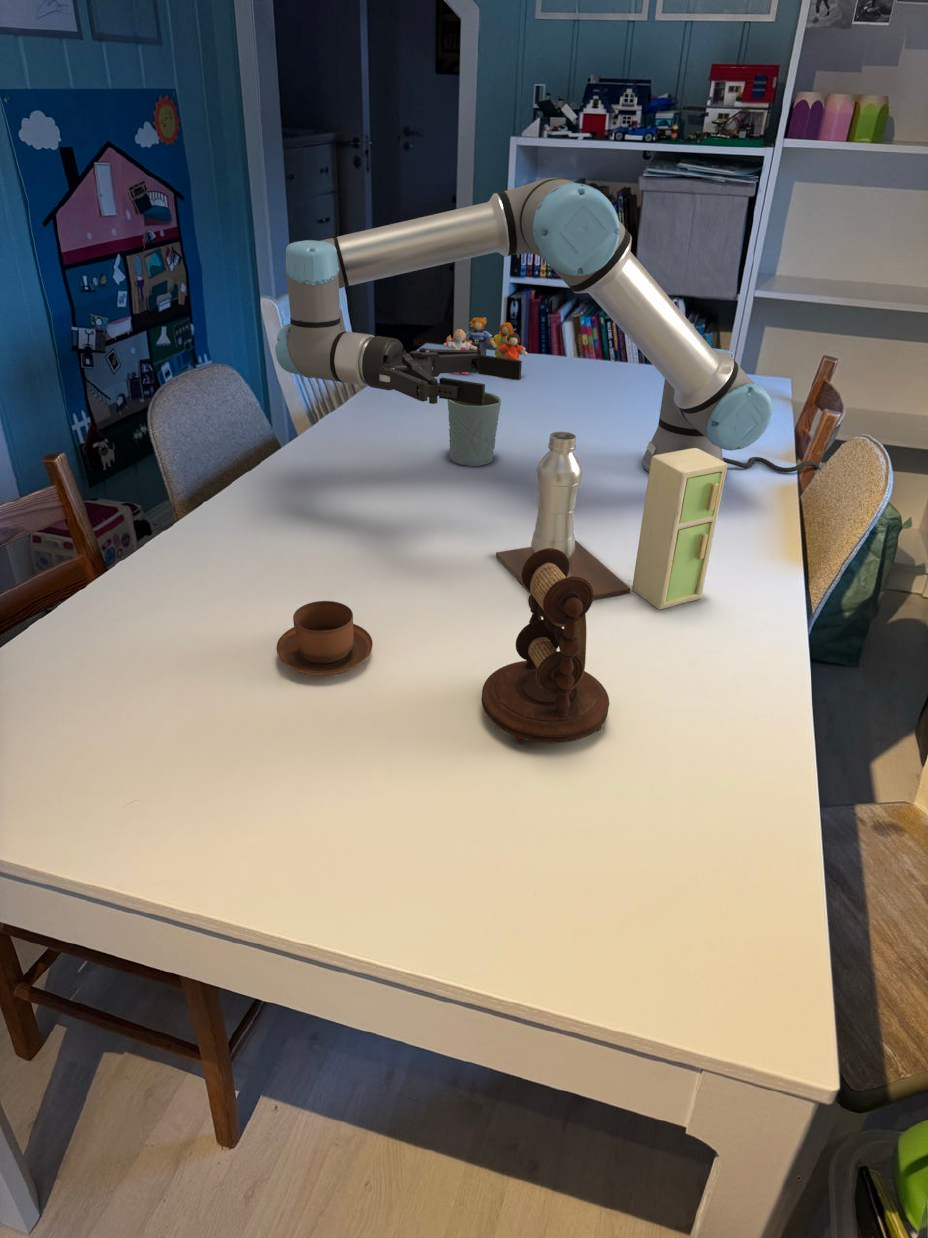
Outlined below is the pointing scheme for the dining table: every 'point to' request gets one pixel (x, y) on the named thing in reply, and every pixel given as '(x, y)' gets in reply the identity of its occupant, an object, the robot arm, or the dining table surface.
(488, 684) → the wooden spool stand
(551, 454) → the silver metal bottle
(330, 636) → the cup and saucer
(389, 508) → the dining table surface
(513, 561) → the walnut board
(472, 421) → the green embossed cup
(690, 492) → the toy refrigerator
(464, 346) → the doll family
